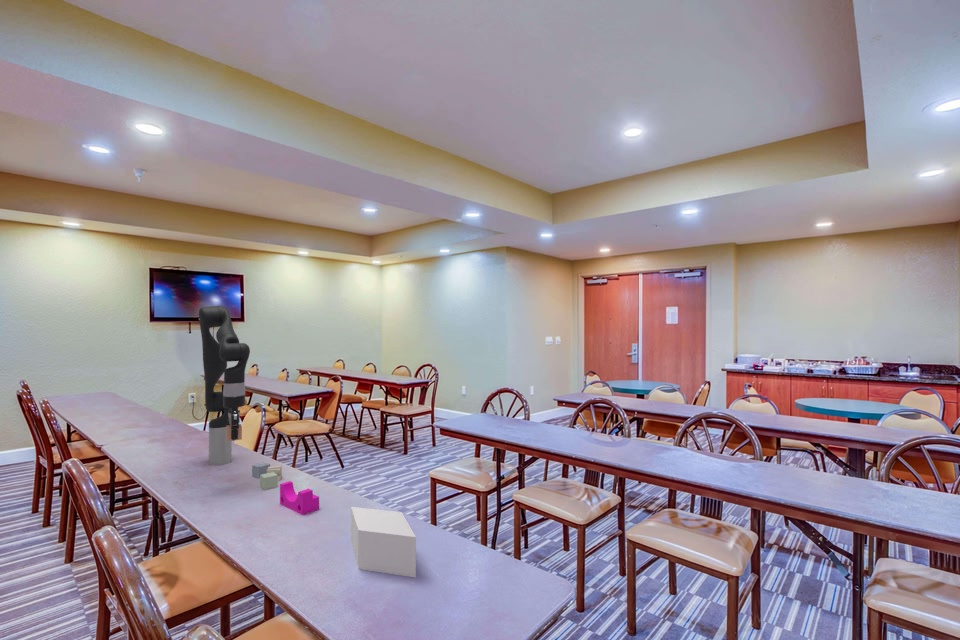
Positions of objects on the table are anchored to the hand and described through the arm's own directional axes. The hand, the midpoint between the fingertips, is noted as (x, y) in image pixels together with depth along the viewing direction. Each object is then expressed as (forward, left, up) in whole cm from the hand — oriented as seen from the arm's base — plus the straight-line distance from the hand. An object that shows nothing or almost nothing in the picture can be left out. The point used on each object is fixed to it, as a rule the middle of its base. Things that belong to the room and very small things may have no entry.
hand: (234, 437), depth 171 cm
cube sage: (+4, +12, -20) cm, 24 cm away
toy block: (+31, +18, -21) cm, 41 cm away
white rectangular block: (+79, +31, -21) cm, 88 cm away
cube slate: (-12, +11, -20) cm, 26 cm away
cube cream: (-4, +15, -20) cm, 26 cm away
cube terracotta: (0, 0, 0) cm, 0 cm away
